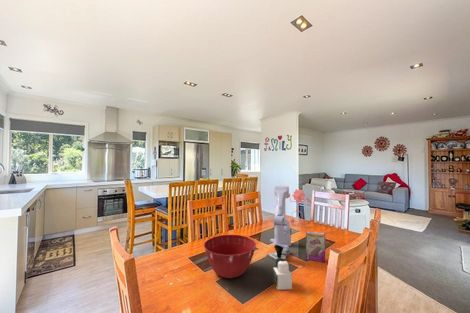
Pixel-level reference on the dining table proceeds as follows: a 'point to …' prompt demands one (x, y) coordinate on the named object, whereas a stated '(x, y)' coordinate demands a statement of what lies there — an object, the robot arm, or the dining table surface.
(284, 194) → the robot arm
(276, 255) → the label
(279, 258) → the plate
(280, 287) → the medicine bottle
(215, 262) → the mixing bowl
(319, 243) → the candy bar box
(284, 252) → the door handle
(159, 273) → the dining table surface
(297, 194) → the figurine
